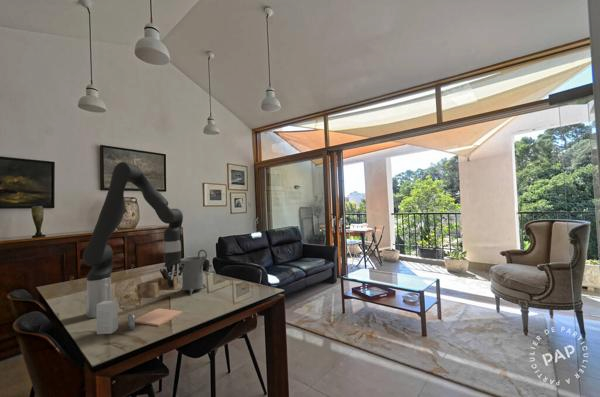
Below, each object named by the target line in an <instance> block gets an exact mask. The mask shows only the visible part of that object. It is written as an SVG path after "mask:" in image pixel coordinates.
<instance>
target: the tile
mask: <svg viewBox="0 0 600 397" xmlns="http://www.w3.org/2000/svg"><path fill="white" fill-rule="evenodd" d="M183 312H184V311H183V310H176V309H175V310H174V309H167V308H156V309H154V310H151V311H150V312H147V313H145V314H142V315H141V316H138V317H135V324H142V325H148V326H157V327H159V326H162V325H163V324H165V323H167V322H169V321H170V320H172V318H173V319H175V318H177V316H180V315H182V314H183Z"/></svg>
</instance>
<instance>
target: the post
mask: <svg viewBox="0 0 600 397" xmlns="http://www.w3.org/2000/svg"><path fill="white" fill-rule="evenodd" d="M135 316H136V315H135V313H130V314H128V315H127V329H128V330H127V331H133V330H135V329H136V323H135V319H136V317H135Z"/></svg>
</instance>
